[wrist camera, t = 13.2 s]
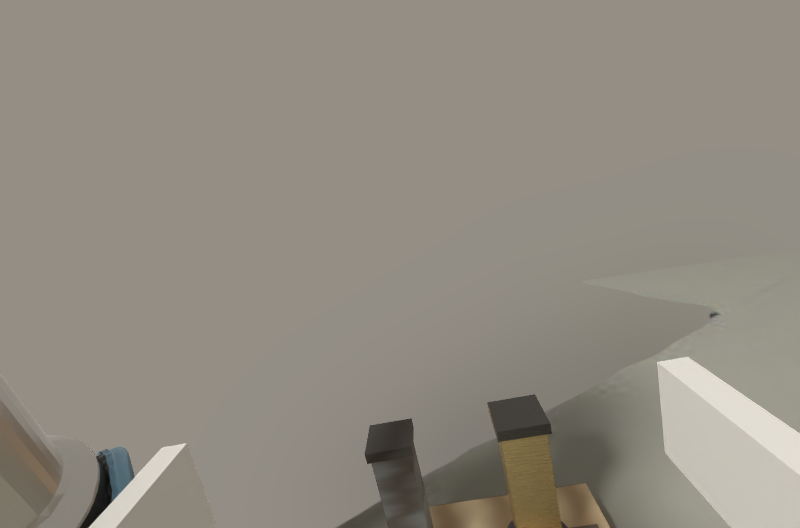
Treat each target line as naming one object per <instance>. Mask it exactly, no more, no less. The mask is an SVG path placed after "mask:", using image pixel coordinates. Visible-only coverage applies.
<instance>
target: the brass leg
mask: <svg viewBox="0 0 800 528" xmlns="http://www.w3.org/2000/svg"><path fill="white" fill-rule="evenodd" d="M488 408H489V413H490V416H491V420H492V423H493V426H494V429H495V433H496V436H497V440H498V444H499V450H500V455H501V460H502V466H503V471H504V476H505V482H506V487H507V493H508V498H509V503H510V509H511V514H512V519H513V524H514V528H562V524H561V518H560V512H559V505H558V499H557V492H556V486H555V480H554V473H553V467H552V460H551V454H550V448H549V441H548V435H547V434H552V432H551V426H550V422H549V420H548V418H547V417H546V415H545V413H544V411H543V409H542V407H541V405H540V403H539V402H538V400H537V398H536V396H535V395H529V396H524V397H517V398H512V399H506V400H500V401H494V402H488Z"/></svg>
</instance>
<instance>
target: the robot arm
mask: <svg viewBox="0 0 800 528" xmlns="http://www.w3.org/2000/svg"><path fill="white" fill-rule="evenodd" d="M657 366H658V378H659V389H660V401H661V412H662V424H663V436H664V447H665V453H666V455H667V456H668V457H669V458H670V459H671V460H672V461H673V462H674V464H675V465H676V466H677V467H678V468H679V469H680V470H681V472H682V473H683V474H684V475H685V476H686V477H687V478H688V479H689V481H690V482H691V483H692V484H693V485H694V486H695V487H696V489H697V490H698V491H699V492H700V493H701V494H702V495H703V496H704V498H705V499H706V500H707V501H708V502H709V503H710V504H711V506H712V507H713V508H714V509H715V510H716V511H717V512H718V513H719V515H720V516H721V517H722V518H723V519H724V520H725V521H726V522H727V524H728V525H729V526H730V527H731V528H800V433H798V432H797V431H795V430H794V429H792V428H791V427H789V426H788V425H786V424H785V423H784V422H782V421H781V420H779V419H778V418H776V417H775V416H773V415H772V414H770V413H769V412H767V411H766V410H765V409H763V408H762V407H760V406H759V405H757V404H756V403H754V402H753V401H751V400H750V399H748V398H747V397H746V396H744V395H743V394H741V393H740V392H738V391H737V390H735V389H734V388H732V387H731V386H729V385H728V384H727V383H725V382H724V381H722V380H721V379H719V378H718V377H716V376H715V375H713V374H712V373H710V372H709V371H708V370H706V369H705V368H703V367H702V366H700V365H699V364H697V363H696V362H694V361H693V360H691V359H690V358H689V357H684V358H678V359H672V360H667V361H661V362H657ZM215 523H216V520H215V517H214V515H213V512H212V510H211V507H210V504H209V501H208V499H207V496H206V493H205V491H204V488H203V485H202V483H201V480H200V477H199V475H198V472H197V469H196V467H195V464H194V462H193V459H192V456H191V453H190V451H189V448H188V445H187V443H186V444H180V445H174V446H168V447H163V448H161V449H160V450H159V452H158V453H157V454H156V455H155V456H154V457H153V458H152V459H151V460H150V461H149V462H148V463H147V465H146V466H145V467H144V468H143V469H142V470H141V471H140V472H139V473H138V475H136V477H135V476H134V472H133V468H132V464H131V460H130V457H129V454H128V452H127V450H126V449H125V448H123V447H116V448H113V449H110V450H108V449H105V450H103V451H100V452H99V453H98V454H97V456H95V454H94V453H93V451H92V450H91V449H90V448H89V447H88V446H87V445H86V444H84V443H83V442H81V441H79V440H77V439H74V438H70V437H67V436H59V435H46V433H45V432H44V431H43V429H42V428H41V427H40V425H39V424H38V422H37V421H36V420H35V418H34V417H33V416H32V414H31V413H30V412H29V410H28V409H27V408H26V406H25V405H24V404H23V402H22V401H21V400H20V398H19V397H18V396H17V394H16V393H15V392H14V390H13V389H12V388H11V386H10V385H9V384H8V382H7V381H6V379H5V378H4V377H3V375H2V374H1V373H0V528H213V527H214V525H215Z"/></svg>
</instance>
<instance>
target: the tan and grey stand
mask: <svg viewBox="0 0 800 528" xmlns="http://www.w3.org/2000/svg"><path fill="white" fill-rule="evenodd" d="M365 457H366V460H367V464H369V463H372V467H373V470H374V474H375V478H376V482H377V485H378V489H379V493H380V497H381V501H382V504H383V508H384V512H385V516H386V519H387V523H388V527H389V528H514V524H513V519H512V514H511V509H510V503H509V498H508V495H503V496H496V497H490V498H483V499H476V500H470V501H463V502H456V503H450V504H443V505H436V506H430V507H429V506H428V502H427V497H426V493H425V489H424V485H423V481H422V476H421V472H420V468H419V464H418V460H417V455H416V451H415V448H414V443H413V423H412V419H406V420H401V421H394V422H388V423H383V424H377V425H371V426H370V428H369V434H368V439H367V446H366V450H365ZM556 492H557V499H558V505H559V512H560V518H561V524H562V528H610V527H609V525H608V523H607V521H606V519H605V517H604V516H603V514H602V512H601V510H600V508H599V506H598V505H597V503H596V501H595V499H594V497H593V495H592V494H591V492H590V490H589V488H588V486H587V484H586V483H583V484H576V485H570V486H563V487H556Z"/></svg>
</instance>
